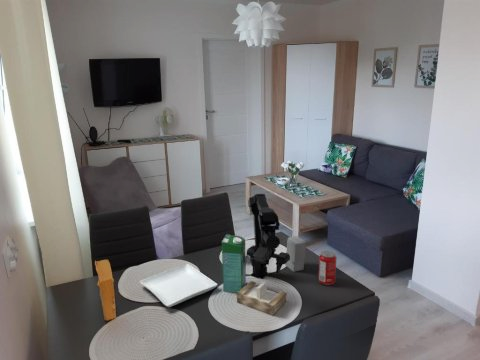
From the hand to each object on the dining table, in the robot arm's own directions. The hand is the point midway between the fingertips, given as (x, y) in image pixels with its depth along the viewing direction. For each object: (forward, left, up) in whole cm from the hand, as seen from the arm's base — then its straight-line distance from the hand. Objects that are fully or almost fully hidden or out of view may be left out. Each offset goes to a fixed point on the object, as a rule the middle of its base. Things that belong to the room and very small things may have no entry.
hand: (267, 272), depth 166 cm
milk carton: (-17, -1, -13) cm, 22 cm away
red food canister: (+18, +26, -13) cm, 34 cm away
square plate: (-39, -16, -13) cm, 44 cm away
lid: (0, -5, -10) cm, 11 cm away
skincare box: (-1, +31, -13) cm, 34 cm away
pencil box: (0, -5, -12) cm, 13 cm away
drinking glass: (-32, +22, -13) cm, 41 cm away
